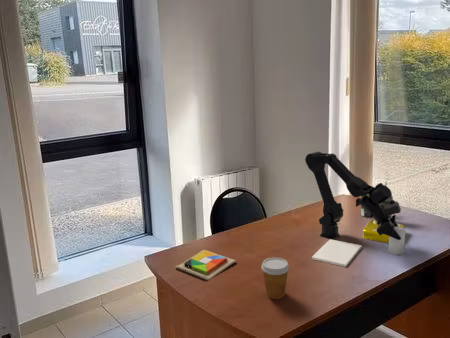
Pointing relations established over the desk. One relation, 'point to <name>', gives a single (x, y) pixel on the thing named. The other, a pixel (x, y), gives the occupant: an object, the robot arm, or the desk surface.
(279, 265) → the disposable coffee cup
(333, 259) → the notebook
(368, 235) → the element tile
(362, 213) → the coffee box
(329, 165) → the robot arm
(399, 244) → the grey cylinder
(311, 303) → the desk surface
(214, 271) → the wooden puzzle
